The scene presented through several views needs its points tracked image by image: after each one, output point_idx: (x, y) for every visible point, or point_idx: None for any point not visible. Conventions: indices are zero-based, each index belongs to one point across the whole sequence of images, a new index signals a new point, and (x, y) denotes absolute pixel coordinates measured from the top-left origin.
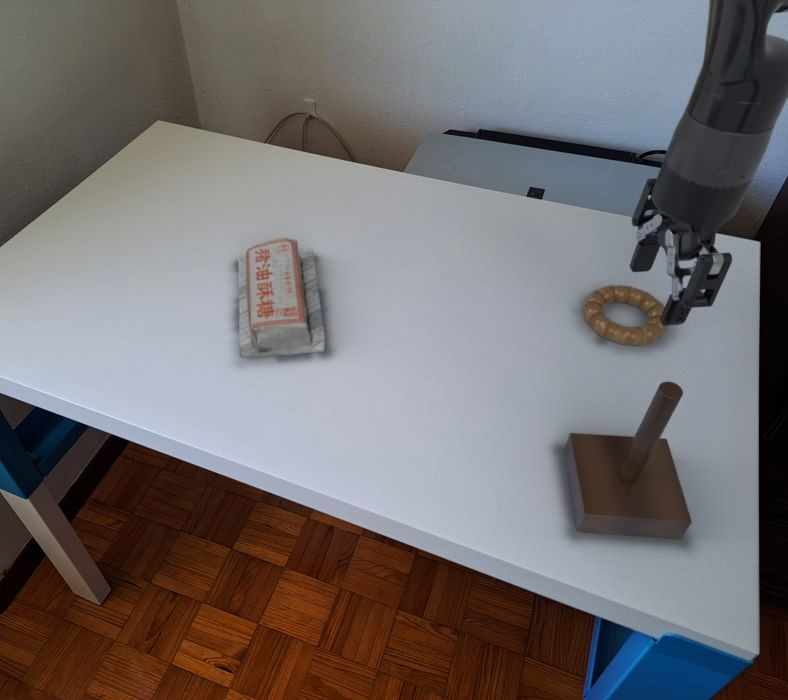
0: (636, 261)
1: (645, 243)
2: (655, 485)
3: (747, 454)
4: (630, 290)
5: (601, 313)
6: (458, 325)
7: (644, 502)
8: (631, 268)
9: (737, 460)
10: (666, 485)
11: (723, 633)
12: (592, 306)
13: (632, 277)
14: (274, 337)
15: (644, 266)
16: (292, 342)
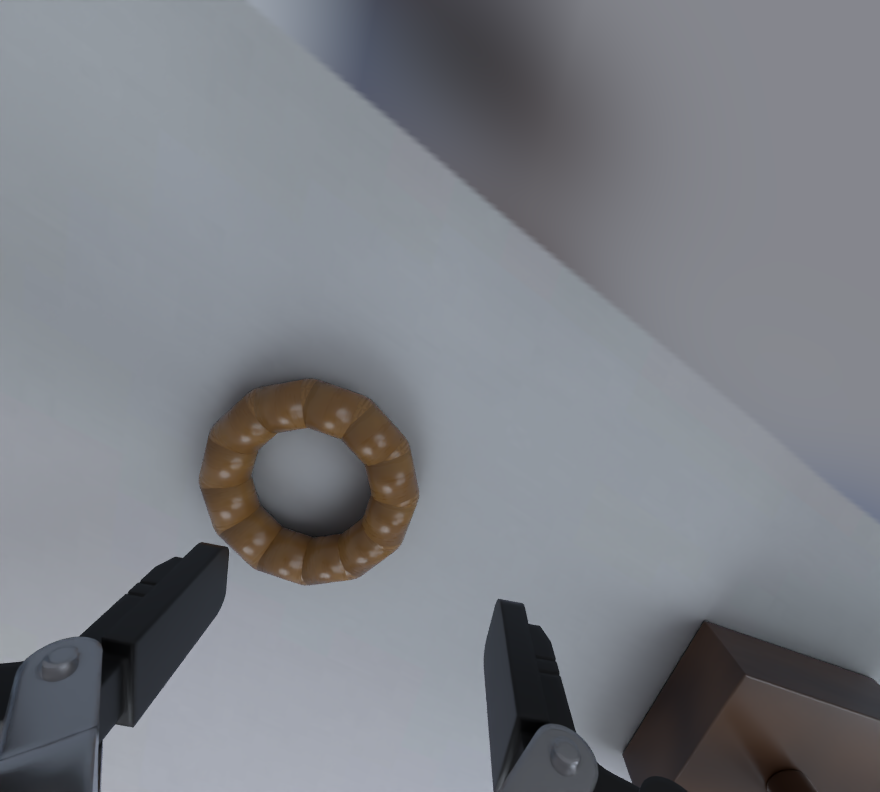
0: (194, 640)
1: (120, 710)
2: (833, 753)
3: (780, 450)
4: (232, 449)
5: (307, 567)
6: (261, 783)
7: (856, 789)
8: (213, 617)
9: (783, 480)
10: (845, 737)
11: None
12: (277, 573)
13: (157, 360)
14: None
15: (213, 582)
16: None
